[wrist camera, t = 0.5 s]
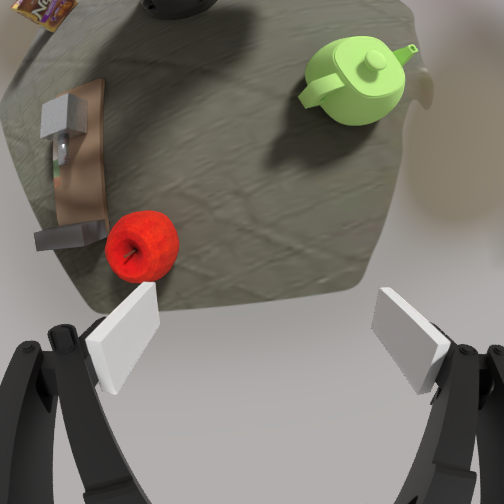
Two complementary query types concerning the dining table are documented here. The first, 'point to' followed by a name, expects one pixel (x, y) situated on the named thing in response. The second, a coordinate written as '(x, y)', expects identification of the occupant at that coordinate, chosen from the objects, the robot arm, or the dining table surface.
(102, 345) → the robot arm
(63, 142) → the grey slider block
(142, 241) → the apple
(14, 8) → the candy box
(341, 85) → the teapot
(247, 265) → the dining table surface
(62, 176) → the rail
